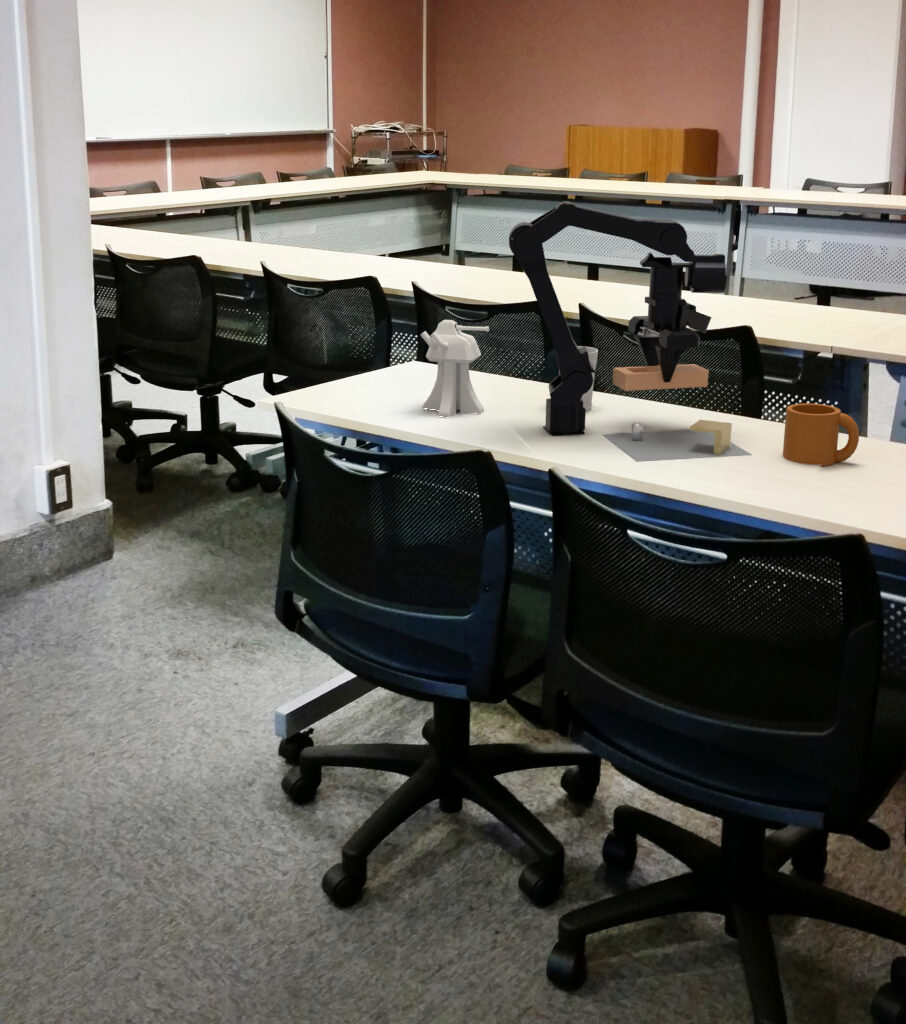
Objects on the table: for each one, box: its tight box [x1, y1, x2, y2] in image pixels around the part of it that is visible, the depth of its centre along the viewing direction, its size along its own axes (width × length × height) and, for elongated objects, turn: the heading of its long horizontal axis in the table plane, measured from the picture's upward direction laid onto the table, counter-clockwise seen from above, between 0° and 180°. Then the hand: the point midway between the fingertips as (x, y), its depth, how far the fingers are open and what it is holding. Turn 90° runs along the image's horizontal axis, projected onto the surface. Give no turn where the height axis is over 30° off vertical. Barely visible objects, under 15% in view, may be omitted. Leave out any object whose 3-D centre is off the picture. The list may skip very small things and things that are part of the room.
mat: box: [601, 429, 753, 463], centre depth 212 cm, size 21×18×1 cm
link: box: [612, 363, 710, 392], centre depth 218 cm, size 16×6×3 cm, turn 104°
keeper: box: [689, 419, 733, 455], centre depth 209 cm, size 6×6×4 cm
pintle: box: [631, 422, 644, 441], centre depth 215 cm, size 2×2×3 cm
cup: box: [558, 345, 599, 413], centre depth 238 cm, size 8×8×12 cm
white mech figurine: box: [420, 319, 490, 418], centre depth 235 cm, size 12×13×18 cm
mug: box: [782, 403, 860, 467], centre depth 202 cm, size 9×12×9 cm
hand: (660, 378), depth 218 cm, fingers closed on link, 6 cm apart
